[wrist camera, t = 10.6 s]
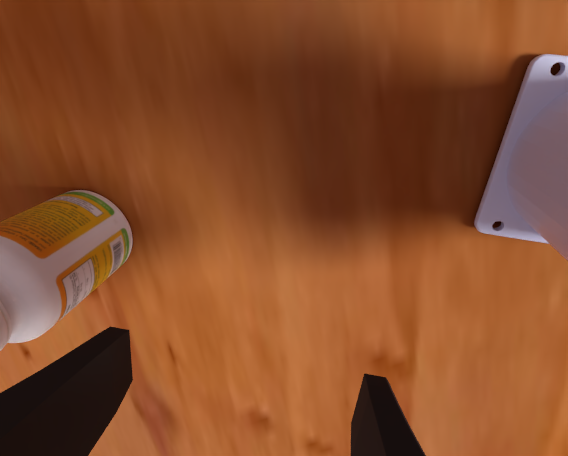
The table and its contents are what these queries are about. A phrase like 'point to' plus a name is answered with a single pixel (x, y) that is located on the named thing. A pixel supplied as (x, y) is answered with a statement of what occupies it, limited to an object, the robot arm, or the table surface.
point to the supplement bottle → (56, 260)
